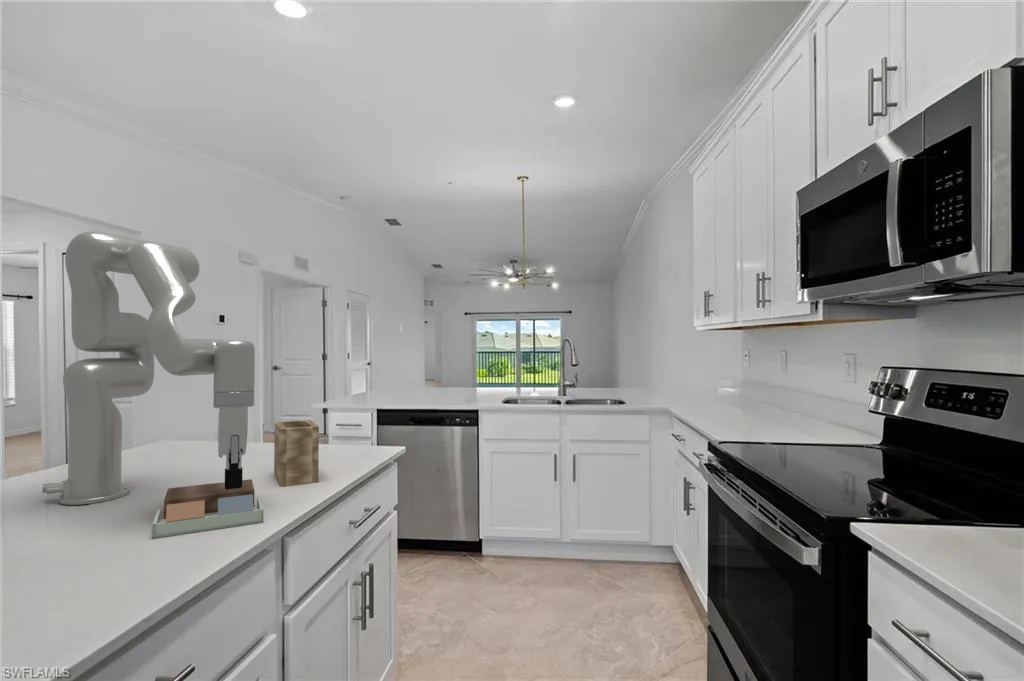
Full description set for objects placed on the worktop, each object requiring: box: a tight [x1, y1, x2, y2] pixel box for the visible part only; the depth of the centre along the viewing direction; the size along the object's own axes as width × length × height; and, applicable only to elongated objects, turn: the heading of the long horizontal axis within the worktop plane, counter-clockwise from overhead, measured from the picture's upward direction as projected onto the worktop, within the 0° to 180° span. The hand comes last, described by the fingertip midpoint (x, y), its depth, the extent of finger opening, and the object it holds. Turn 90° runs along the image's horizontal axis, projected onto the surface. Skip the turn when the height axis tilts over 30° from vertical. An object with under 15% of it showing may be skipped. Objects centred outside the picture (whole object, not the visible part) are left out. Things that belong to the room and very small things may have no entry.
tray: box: [151, 496, 264, 539], centre depth 102 cm, size 18×10×2 cm, turn 120°
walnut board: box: [163, 479, 255, 519], centre depth 111 cm, size 16×10×4 cm, turn 120°
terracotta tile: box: [166, 500, 205, 522], centre depth 99 cm, size 6×6×3 cm
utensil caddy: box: [273, 419, 320, 488], centre depth 136 cm, size 9×14×14 cm, turn 30°
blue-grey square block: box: [218, 494, 253, 515], centre depth 103 cm, size 6×6×3 cm
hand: (233, 487), depth 108 cm, fingers closed
